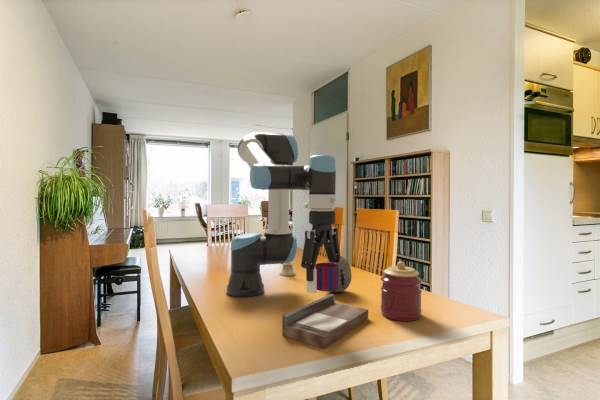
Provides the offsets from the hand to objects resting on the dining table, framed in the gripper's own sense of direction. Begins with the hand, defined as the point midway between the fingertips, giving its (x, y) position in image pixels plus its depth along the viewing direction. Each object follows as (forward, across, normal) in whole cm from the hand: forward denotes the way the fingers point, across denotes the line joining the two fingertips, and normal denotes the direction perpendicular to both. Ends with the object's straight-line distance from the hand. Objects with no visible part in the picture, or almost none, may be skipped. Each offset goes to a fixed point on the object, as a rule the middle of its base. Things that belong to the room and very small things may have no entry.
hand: (321, 288), depth 96 cm
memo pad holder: (+13, +5, +1) cm, 14 cm away
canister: (+13, +28, -13) cm, 34 cm away
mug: (0, 0, 0) cm, 0 cm away
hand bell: (+13, +50, +52) cm, 73 cm away
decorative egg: (+13, +38, +17) cm, 44 cm away
